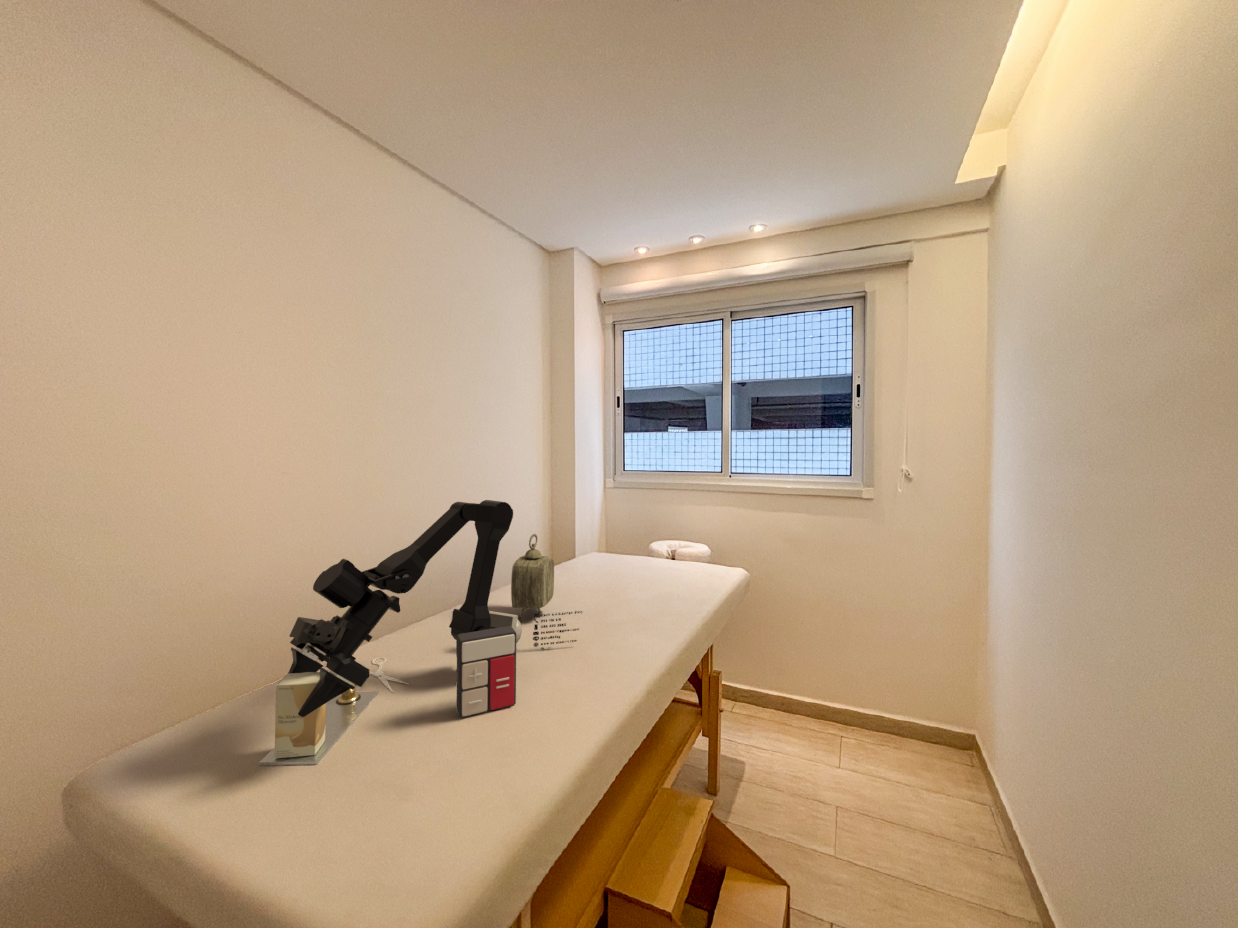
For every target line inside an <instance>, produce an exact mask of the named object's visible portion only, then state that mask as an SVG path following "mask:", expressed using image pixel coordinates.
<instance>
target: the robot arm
mask: <svg viewBox="0 0 1238 928" xmlns="http://www.w3.org/2000/svg"><path fill="white" fill-rule="evenodd" d="M512 508H513V507H512V506H511V505H510V504H509V503H508V502H505V501H500V500H491V499H485V500H482V501H480V503H476V502H464V501H456V502H453V503H452V504H451V505H450V507H449V509H448V510H446V512H444V513H443V514H442V515H441V516H440V517H439V518H438V519H437V520H435V522H434V523H433V524H431V525H430V526H429V527H428V528H427V529H426V530H425V531H424V532H423V533H422V534H421V535H420V536H418V538H417V539H415V540H414V541H413V542H412V543H410V545H408V546H407V547H405V548H403V549H400V550H397V551H395V552H394V553H392V554H391V555H389V556H388V557H386V558H385V559H384V560H382V561H381V562H379V564H377V566H375V567H372V568H369V569H366V570H362V571H361V570H360V569H358V567H356V566H355V564H353V562H352V561H350V560H349V559H346V558H342V559H340V561H339V562H338V563H335V564H333V565H331V566H330V567H328V568H327V569H326V570H323V571H322V572H320V574H319V575H318V576H317V578H316V580H315V581H314V583H313V584H312V585H313V586H312V590H313V591H314V592H315V593H316V594H318V595H320V596H321V597H322V598H324V599H325V600H326V601H328V602H330V603H332V604H333V605H335V606H336V607H338V608H340V609H344V608H347V607H348V608H347V609H346V610H345V612H344V613H343V614H342V615H341V616H339V615H336V616H333V617H332V618H331V619H330V620H324V619H323V618H321V619H315V618H314V619H313V618H309V617H302V616H298V617H297V618H296V620H295V623H294V624H293V627H292V629H291V631H290V634H289V637H290V638H292V639H291V640H290V642H289V643H290V644H291V645H293V646H294V647H295V648H294V647H293V646H291V647H290V651H291V656H292V663H291V666H290V668H289V671H288V672H287V674H289V673H304V672H320V680H319V682H318V684H317V685H316V686H315V688H314V689H313V691H312V692H311V694H310V695H309V697H308V698H307V700H306V701H305V703H304V704H303V706H302V707H301V709H300V711H299V712H298V715H299V716H301V717H305V716H306V715H308V714H310V713H311V712H313V711H314V710H316V709H317V708H319V707H321V706H322V705H324V704H325V703H327V702H328V701H330V700H332V699H333V698H335V697H337V696H339V695H340V694H342V693H344V692H346V691H347V690H349V689H352V690H353V689H354V688H355V689H356V686H357V687H359V688H362V687H363V686H364V685H365V683H366V682H367V680H369V678H370V675H369V672H370V669H369V668H368V667H366V666H364V665H362V664H361V663H359V662H357V661H356V660H357V658H356V657H355V656H354V654H355V652H356V651H357V650H358V649H359V647H360V646H361V645H362V644H363V643H364V641H366V642H367V643H369V642H370V641H371V640H372V639H373V636H372V635H371V632H372V631H373V630H374V629H375V627H376V626H377V625H378V624H379V622H380V621H381V620H382V619H383V617H384V616H385V614H386V613H387V612H388V610H390V611H393V612H396V613H400V612H401V605H400V597H399V596H396V595H391V596H390V595H388V594H387V593H386V592H384V591H386V590H387V592H388V591H389V592H392V593H393V594H394V593H395V594H399V595H400V594H406V593H409V592H410V591H411V590H412V589H413V588H414V587H415V585H416V584H417V582H418V581H419V580H420V579H421V578H422V576H423V574H424V573H425V570H426V567H427V564H428V563H429V562H430V560H431V559H432V558H433V557H434V556H435V555H436V554H438V552H440V550H441V549H442V548H443V547H445V546H446V545H447V543H448V542H449V541H450V540H451V539H452V538H454V537H455V536H456V535H457V533H458V532H460V531H461V530H462V528H463V527H465V526H466V525H467V524H468V522H474V527H475V531H476V535H477V543H476V547H475V551H474V556H473V562H472V566H471V572H470V575H469V581H468V584H467V585H468V586H467V590H466V591H467V592H466V594H465V595H466V596H465V600H464V603H463V604H462V605H461V606H460V607H459V608H458V609H457V608H454V609H453V611H452V612H451V615H452V616H451V621H450V624H449V625H448V628H449V629H450V635H451V636H452V638H453V639H454V640H456V636H457V635H458V634H462V633H469V632H475V631H481V630H487V629H491V617H490V613H489V611H490V610H489V605H488V604H489V603H488V602H489V599H490V593H491V590H492V583H493V578H494V574H495V568H496V562H497V557H498V553H499V548H500V543H501V541H502V539H503V538H504V536H505V535H506V534H507V533H508V532H509V530H510V526H511V524H512V521H513V518H514V510H513V509H512ZM370 586H371V587H374V588H377V589H374V590H372V589H371V588H370ZM318 660H319V661H321V662H322V663H323V662H326V663H325V664H326V665H325V668H327V669H328V670H327V669H325V668H323V667H324V665H323V664H322V663H321V662H319V661H318ZM353 683H354V684H355V687H354V686H353V685H352V684H353Z"/></svg>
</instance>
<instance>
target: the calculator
mask: <svg viewBox="0 0 1238 928" xmlns="http://www.w3.org/2000/svg"><path fill="white" fill-rule="evenodd" d="M455 649H456V712H457V716H458V717H459V718H466V717H470V716H473V715H474V716H475V715H478V714H479V715H480V714H484V713H488V712H492V711H496V710H500V709H503V708H504V709H505V708H507V707H511V706H512V707H513V706H515V705H516V703H517V702H516V701H517V698H516V697H517V643H516V632H515V630H514V629H513V628H512V626H506V627H500V628H494V629H487V630H481V631H475V632H469V633H462V634H458V635H457V636H456V646H455Z"/></svg>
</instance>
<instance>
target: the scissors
mask: <svg viewBox="0 0 1238 928" xmlns="http://www.w3.org/2000/svg"><path fill="white" fill-rule="evenodd" d="M377 660H383V661H381V662H376V661H377ZM386 662H387V658H386V657H380V656H379V657H376V658H374V659H372V661H371V664H372V665H375V666H376V665H377V666H378V669H376V671H371V672H370V671H369V676H372V677H375V678H378V679H379V681H380V682H381V683H382V684H383V685H384V686H385V687H386V689H387V690H389V692H391V693H394V691H393V690H392V689H393V688H391V685H390V684H389V682H388V681H391V682H396V683H401V684H406V685H411V684H410V683H407V682H405V681H402V680H401V679H398V678H394V677H391V676H388V675H386V674H384V672H383V671H382V668H383V665H384V664H385V663H386Z"/></svg>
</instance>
